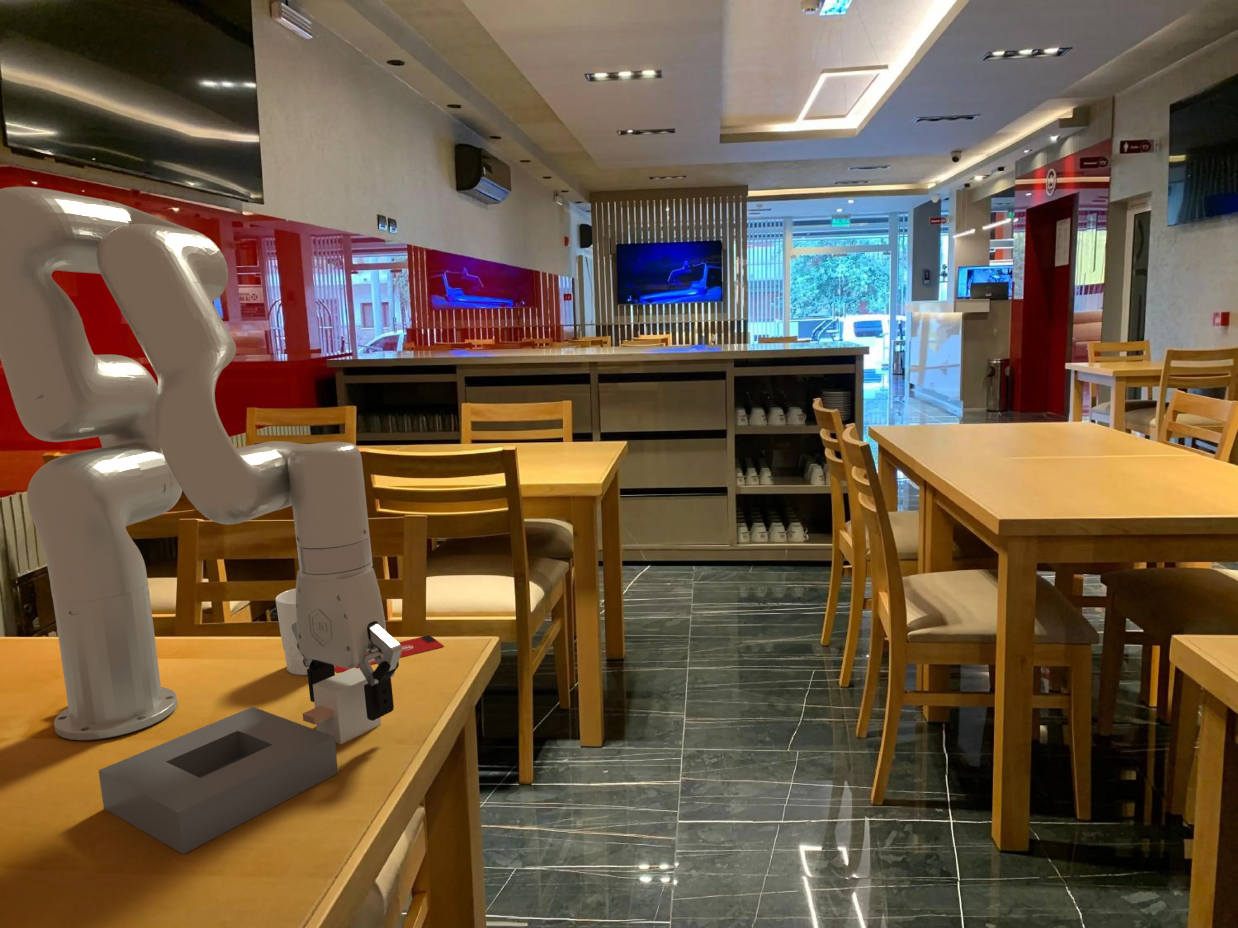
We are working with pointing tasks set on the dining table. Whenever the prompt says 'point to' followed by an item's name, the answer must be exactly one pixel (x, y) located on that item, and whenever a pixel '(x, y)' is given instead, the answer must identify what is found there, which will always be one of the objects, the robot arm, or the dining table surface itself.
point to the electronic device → (409, 648)
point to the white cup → (290, 632)
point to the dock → (217, 777)
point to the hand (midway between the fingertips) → (351, 706)
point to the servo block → (341, 706)
